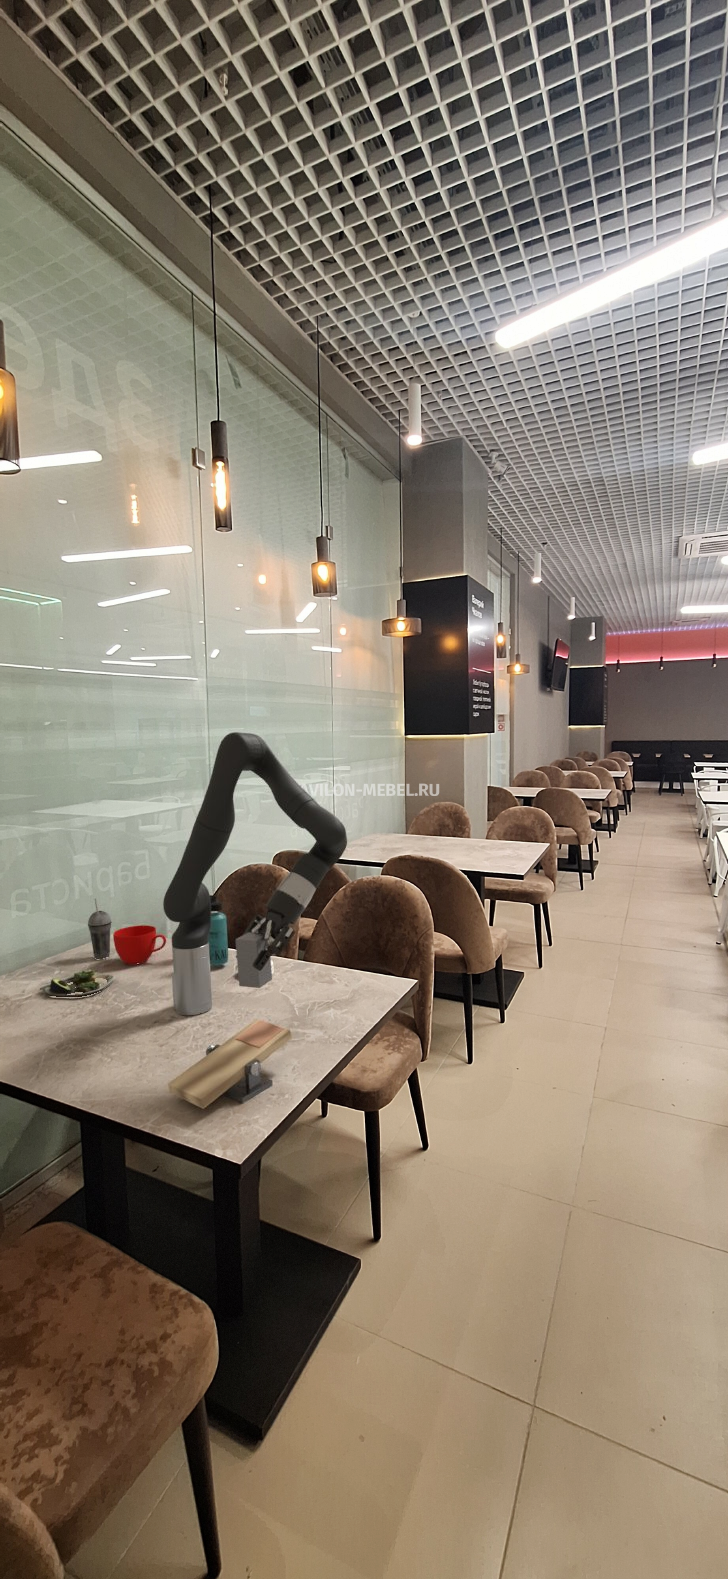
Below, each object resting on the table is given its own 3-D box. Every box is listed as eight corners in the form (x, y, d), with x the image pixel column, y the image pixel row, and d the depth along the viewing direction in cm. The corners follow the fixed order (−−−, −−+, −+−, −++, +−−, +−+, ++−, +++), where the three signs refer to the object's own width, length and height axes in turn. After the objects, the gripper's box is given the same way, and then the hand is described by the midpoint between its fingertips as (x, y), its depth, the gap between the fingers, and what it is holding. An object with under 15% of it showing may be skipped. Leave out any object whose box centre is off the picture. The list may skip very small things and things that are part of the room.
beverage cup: (118, 955, 220) (114, 895, 219) (103, 962, 214) (99, 901, 212) (100, 953, 223) (96, 894, 221) (85, 960, 216) (80, 900, 214)
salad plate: (75, 974, 204) (74, 959, 204) (128, 976, 201) (127, 961, 201) (32, 999, 185) (30, 983, 185) (89, 1001, 182) (88, 985, 182)
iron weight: (239, 986, 140) (235, 939, 139) (252, 977, 144) (248, 932, 143) (259, 988, 138) (256, 940, 137) (272, 979, 142) (268, 933, 141)
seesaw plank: (169, 1092, 129) (167, 1082, 128) (258, 1027, 147) (256, 1018, 146) (203, 1108, 122) (201, 1098, 122) (291, 1038, 141) (289, 1029, 140)
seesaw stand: (195, 1082, 136) (194, 1053, 135) (226, 1066, 142) (224, 1038, 142) (242, 1103, 127) (241, 1072, 127) (272, 1085, 134) (271, 1055, 133)
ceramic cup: (157, 969, 205) (155, 937, 204) (107, 968, 208) (104, 936, 207) (176, 955, 218) (174, 925, 217) (128, 954, 221) (126, 925, 220)
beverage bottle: (209, 963, 209) (205, 901, 207) (230, 962, 209) (227, 899, 208) (205, 971, 202) (202, 906, 201) (228, 969, 203) (224, 905, 201)
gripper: (263, 884, 150) (219, 947, 143) (297, 893, 138) (251, 963, 132) (285, 902, 153) (243, 965, 147) (320, 913, 142) (276, 981, 136)
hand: (247, 964), depth 140 cm, fingers closed on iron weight, 7 cm apart
